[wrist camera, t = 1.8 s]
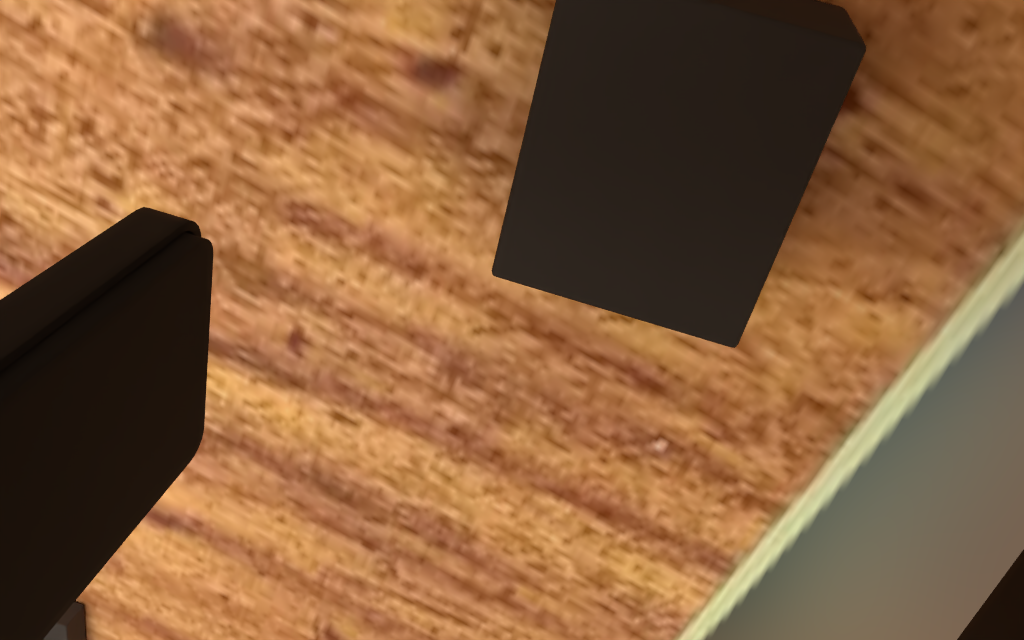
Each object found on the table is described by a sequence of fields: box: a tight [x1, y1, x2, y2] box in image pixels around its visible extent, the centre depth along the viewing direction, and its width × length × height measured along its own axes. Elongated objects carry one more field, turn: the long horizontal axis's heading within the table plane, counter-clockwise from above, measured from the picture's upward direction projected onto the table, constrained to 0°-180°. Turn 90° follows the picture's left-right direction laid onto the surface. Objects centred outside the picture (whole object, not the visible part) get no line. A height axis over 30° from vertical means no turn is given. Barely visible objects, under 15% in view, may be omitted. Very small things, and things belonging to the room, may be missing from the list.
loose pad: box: [492, 0, 866, 348], centre depth 17 cm, size 6×5×3 cm
